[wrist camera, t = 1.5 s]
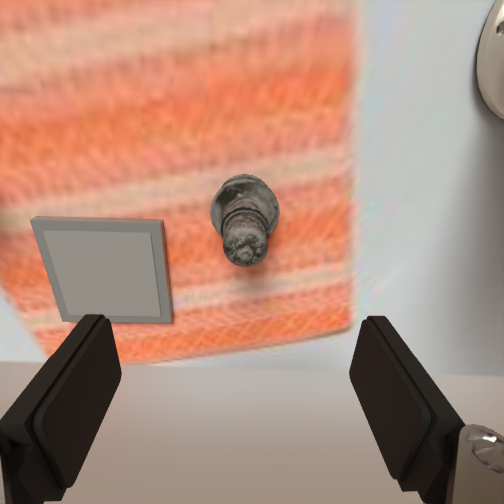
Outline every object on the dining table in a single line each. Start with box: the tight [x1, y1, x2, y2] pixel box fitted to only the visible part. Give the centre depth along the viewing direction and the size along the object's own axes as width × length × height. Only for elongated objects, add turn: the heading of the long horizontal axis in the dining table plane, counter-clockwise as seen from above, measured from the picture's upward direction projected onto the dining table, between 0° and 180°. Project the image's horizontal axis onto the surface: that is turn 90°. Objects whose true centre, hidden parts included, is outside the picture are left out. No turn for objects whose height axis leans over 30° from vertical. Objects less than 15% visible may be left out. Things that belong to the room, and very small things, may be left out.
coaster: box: [30, 216, 173, 323], centre depth 30 cm, size 12×12×1 cm
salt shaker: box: [210, 174, 280, 267], centre depth 22 cm, size 6×6×12 cm
